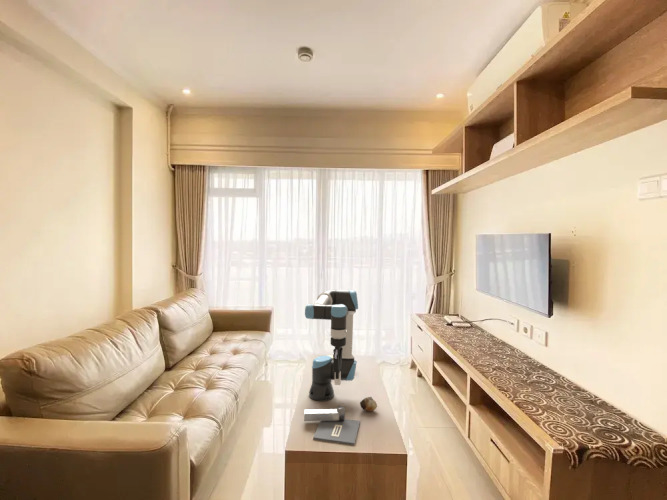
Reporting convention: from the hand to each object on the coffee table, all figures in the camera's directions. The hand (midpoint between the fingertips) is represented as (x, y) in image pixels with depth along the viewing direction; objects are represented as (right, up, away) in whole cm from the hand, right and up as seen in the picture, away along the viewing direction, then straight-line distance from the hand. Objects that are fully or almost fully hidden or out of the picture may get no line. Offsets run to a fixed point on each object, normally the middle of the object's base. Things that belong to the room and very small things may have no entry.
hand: (337, 384), depth 168 cm
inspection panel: (0, -24, +3) cm, 24 cm away
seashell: (+18, -24, +23) cm, 38 cm away
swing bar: (-7, -22, +10) cm, 25 cm away
